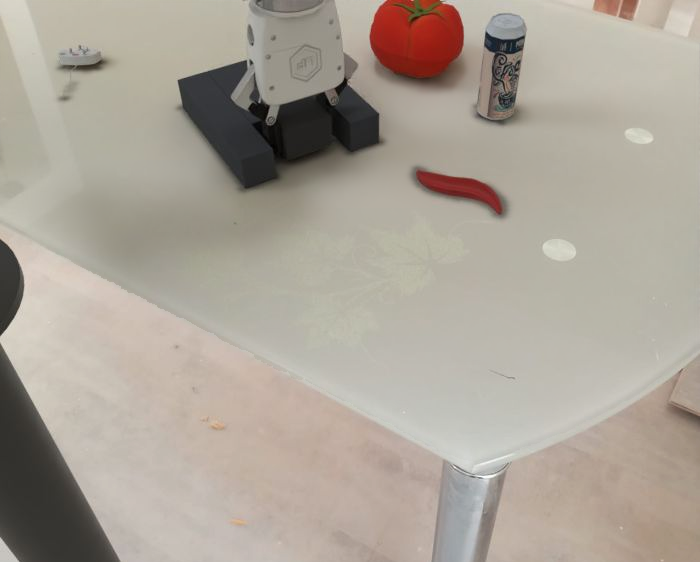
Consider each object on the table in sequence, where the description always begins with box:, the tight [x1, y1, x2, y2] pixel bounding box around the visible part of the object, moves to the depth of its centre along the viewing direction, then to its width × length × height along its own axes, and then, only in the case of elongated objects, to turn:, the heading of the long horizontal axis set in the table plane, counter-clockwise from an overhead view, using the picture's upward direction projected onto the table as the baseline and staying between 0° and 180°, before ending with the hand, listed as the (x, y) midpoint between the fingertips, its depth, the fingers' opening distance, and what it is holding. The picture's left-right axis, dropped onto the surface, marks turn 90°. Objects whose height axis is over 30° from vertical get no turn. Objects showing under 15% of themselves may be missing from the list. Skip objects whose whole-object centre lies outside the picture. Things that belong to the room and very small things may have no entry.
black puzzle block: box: [276, 96, 333, 161], centre depth 92 cm, size 6×7×4 cm
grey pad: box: [177, 59, 380, 189], centre depth 96 cm, size 18×20×4 cm
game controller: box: [57, 44, 103, 99], centre depth 106 cm, size 6×12×3 cm, turn 16°
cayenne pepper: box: [416, 169, 503, 215], centre depth 88 cm, size 12×5×2 cm, turn 42°
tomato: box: [368, 0, 465, 79], centre depth 103 cm, size 14×13×9 cm
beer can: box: [476, 12, 528, 121], centre depth 94 cm, size 5×5×12 cm
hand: (300, 137), depth 92 cm, fingers closed on black puzzle block, 6 cm apart
